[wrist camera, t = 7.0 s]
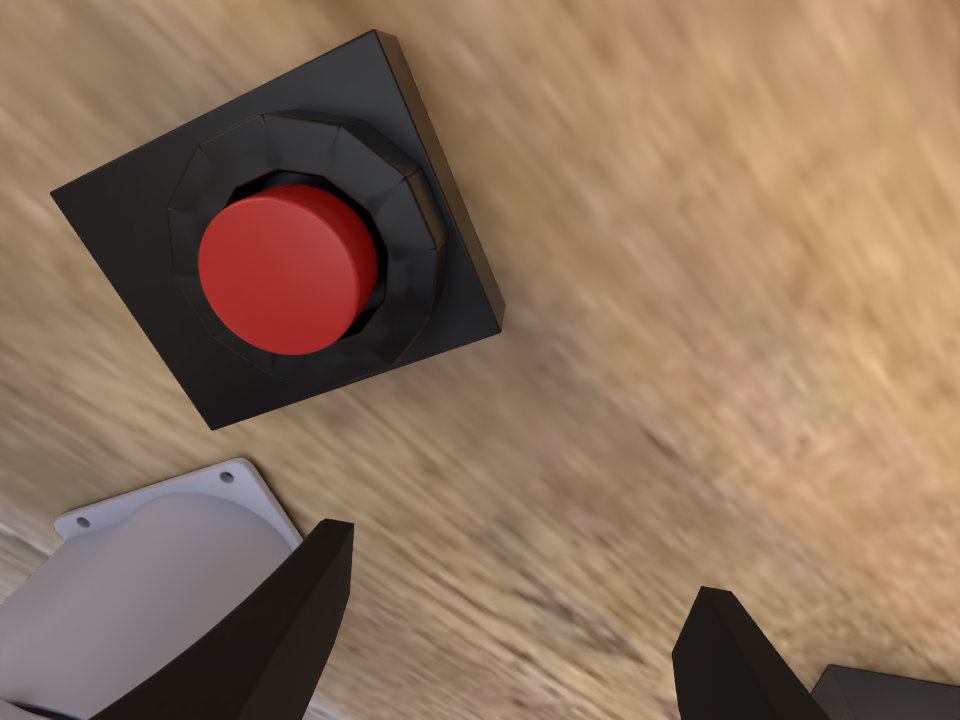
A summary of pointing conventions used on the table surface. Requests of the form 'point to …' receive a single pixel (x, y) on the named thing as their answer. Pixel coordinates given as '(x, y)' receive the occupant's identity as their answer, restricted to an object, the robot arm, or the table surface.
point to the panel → (883, 697)
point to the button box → (306, 161)
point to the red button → (288, 268)
